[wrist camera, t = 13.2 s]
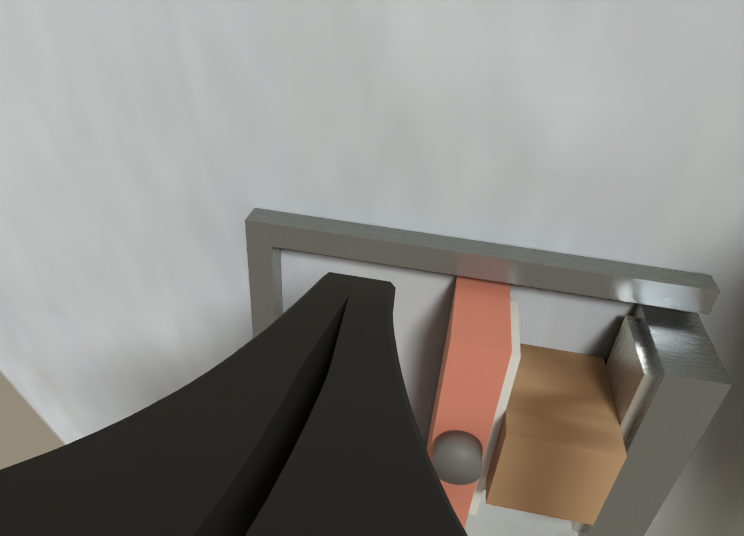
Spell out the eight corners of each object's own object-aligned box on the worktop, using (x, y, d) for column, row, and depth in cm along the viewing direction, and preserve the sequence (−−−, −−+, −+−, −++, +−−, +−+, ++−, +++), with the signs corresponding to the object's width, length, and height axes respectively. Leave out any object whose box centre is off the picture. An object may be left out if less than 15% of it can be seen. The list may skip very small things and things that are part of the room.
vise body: (710, 275, 20) (753, 348, 17) (604, 495, 27) (619, 577, 24) (254, 208, 22) (212, 261, 19) (267, 430, 29) (238, 497, 26)
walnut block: (603, 356, 23) (626, 456, 19) (577, 422, 25) (593, 525, 21) (504, 340, 23) (506, 434, 19) (487, 406, 26) (485, 503, 21)
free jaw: (520, 284, 21) (526, 375, 17) (476, 453, 27) (472, 553, 23) (457, 274, 22) (448, 362, 18) (426, 444, 27) (414, 540, 23)
